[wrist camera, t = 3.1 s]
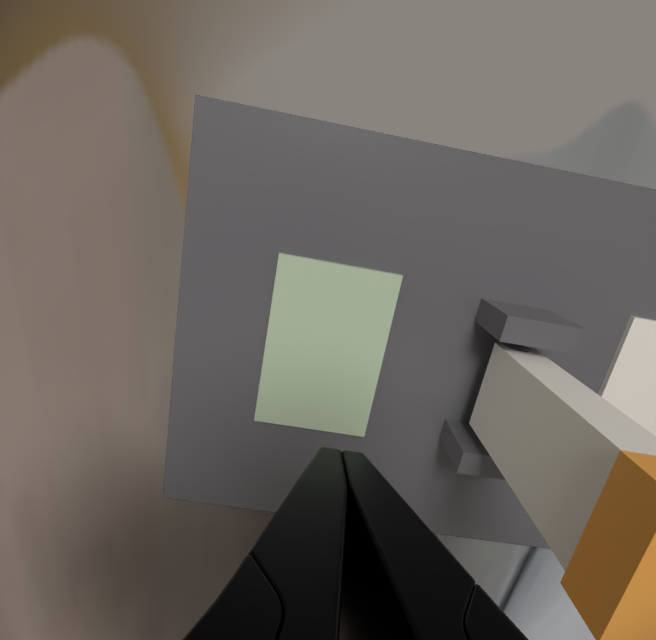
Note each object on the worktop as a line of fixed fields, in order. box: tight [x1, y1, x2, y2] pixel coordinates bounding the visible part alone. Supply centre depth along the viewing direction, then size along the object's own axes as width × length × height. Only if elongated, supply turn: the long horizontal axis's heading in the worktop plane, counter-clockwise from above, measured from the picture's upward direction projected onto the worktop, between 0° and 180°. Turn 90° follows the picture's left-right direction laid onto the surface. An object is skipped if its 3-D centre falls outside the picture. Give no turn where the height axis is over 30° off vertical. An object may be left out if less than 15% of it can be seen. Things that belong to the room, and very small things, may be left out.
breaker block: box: [163, 95, 656, 549], centre depth 15 cm, size 14×22×5 cm, turn 80°
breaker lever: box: [469, 342, 656, 640], centre depth 11 cm, size 3×2×8 cm, turn 170°
